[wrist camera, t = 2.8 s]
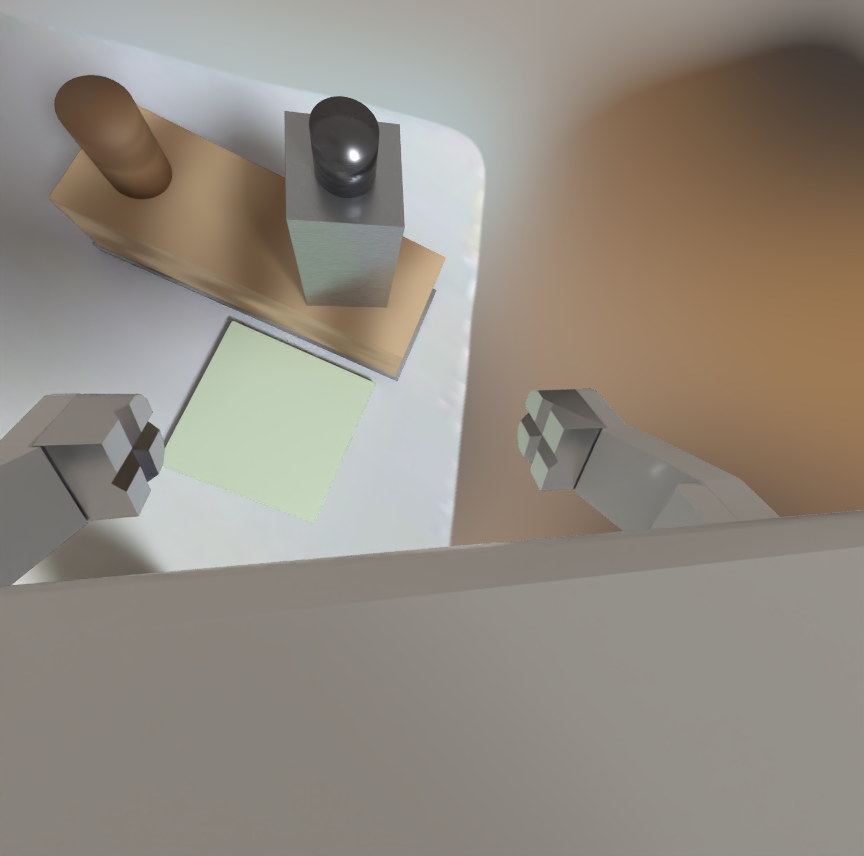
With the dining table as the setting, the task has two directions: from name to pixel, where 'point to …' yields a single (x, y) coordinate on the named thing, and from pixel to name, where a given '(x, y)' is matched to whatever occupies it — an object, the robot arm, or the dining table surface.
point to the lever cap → (344, 202)
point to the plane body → (217, 226)
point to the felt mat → (269, 423)
